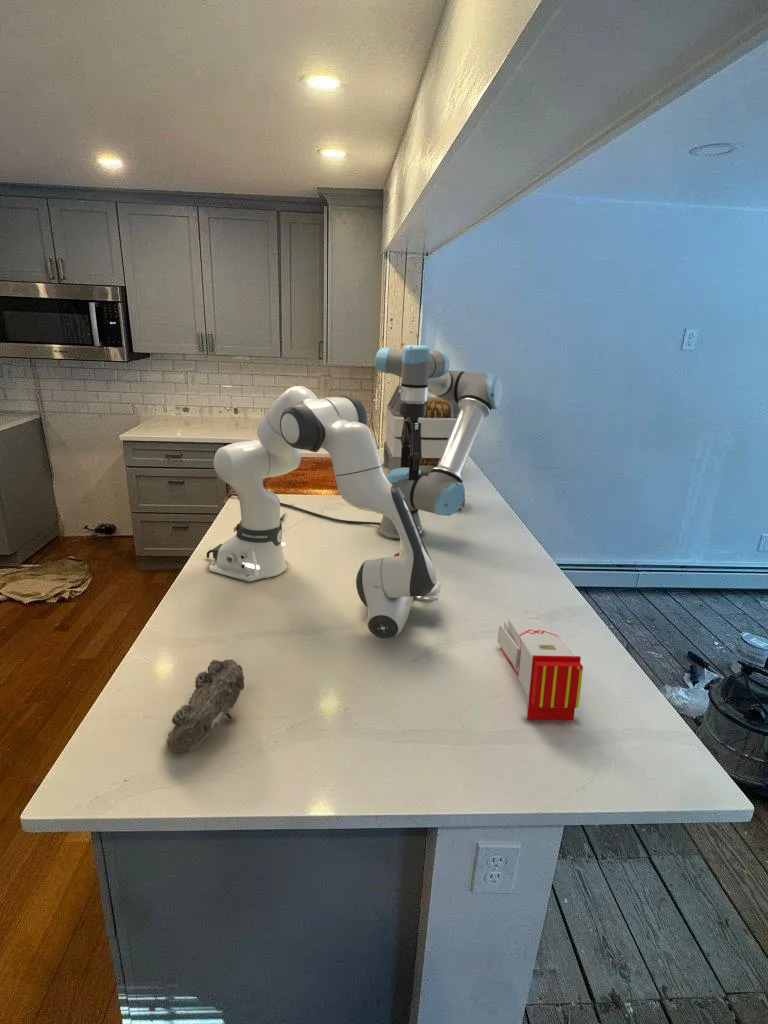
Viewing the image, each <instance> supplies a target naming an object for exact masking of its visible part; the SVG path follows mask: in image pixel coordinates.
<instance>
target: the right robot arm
mask: <svg viewBox="0 0 768 1024" xmlns="http://www.w3.org/2000/svg"><path fill="white" fill-rule="evenodd" d="M374 364H375V368H376V369H377V371H379V372H380V373H382V374H391V375H394V376H396V377H399V378H400V379H401V385H400V386H401V388H402V389H401V390H399V393H401V400H402V402H401V403H400V415H402V416H404V422H403V428H402V435H401V440H400V441H401V442H402V443H401V445H402V450H401V468H398V469H393V470H391V471H390V470H389V471H388V472H387V475H386V478H387V479H388V481H389V482H390V483H391V484H392V485H393V486H395V487H398V488H399V489H400V490H401V491H402V493H403V495H404V496H405V498H406V501H407V503H408V505H409V508H410V510H411V513H412V515H413V518H414V520H415V523H416V525H417V528H418V530H419V533H420V536H421V537H422V535H423V525H422V524H421V518H420V515H419V510H420V511H423V512H426V513H431V514H435V515H437V516H445V517H450V516H452V515H454V514H455V513H456V512H457V511H459V507H460V508H461V504H462V501H463V498H465V497H464V494H465V492H466V491H465V489H466V488H465V486H464V484H463V483H464V480H463V479H462V477H461V475H462V472H463V470H464V467H465V466H466V463H467V460H468V458H469V455H470V453H471V450H472V447H473V445H474V442H475V440H476V437H477V435H478V432H479V430H480V427H481V425H482V422H483V420H484V419H485V418H487V417H488V416H490V413H491V411H492V410H498V409H499V407H500V405H501V402H502V398H503V385H502V381H501V378H500V376H498V375H496V374H491V373H489V372H487V373H482V372H472V371H465V370H452V369H451V370H450V367H451V361H450V358H449V356H448V354H446V353H445V352H444V351H440V350H431V348H430V347H429V346H428V345H420V344H419V345H418V344H408V345H405V346H404V347H403V348H395V347H381V348H379V350H377V352H376V354H375V360H374ZM428 392H429V394H431V395H433V396H434V397H439V398H442V399H444V400H446V401H449V402H452V403H455V404H458V406H459V408H460V411H459V413H458V416H457V418H456V421H455V423H454V426H453V428H452V430H451V433H450V435H449V438H448V440H447V443H446V445H445V448H444V450H443V453H442V455H441V457H440V460H439V462H438V465H437V466H434V467H433V468H430V470H429V472H428V475H423V474H422V470H421V468H420V466H419V460H420V458H421V457H422V454H421V423H418V418H419V417H424V416H425V415H426V403H425V402H426V401H427V397H428ZM410 453H411V456H410ZM415 453H417V454H415ZM465 495H466V494H465ZM231 497H237V498H238V496H237V493H229V495H227V498H231ZM280 506H283V507H285V508H286V507H287V508H290V509H293V510H297V511H299V512H303V513H306V514H308V515H309V514H310V515H313V516H314V517H318V518H323V519H326V520H329V521H333V522H338V523H345V524H354V525H355V524H357V525H372V526H378V533H379V534H380V535H381V536H382V537H385V538H387V539H389V540H395V541H400V536H399V533H398V531H397V528H396V526H395V524H394V522H393V521H392V520H391V519H389V518H388V517H386V516H384V515H382V519H381V522H376V521H358V520H346V519H340V518H335V517H331V516H327V515H323V514H320V513H316V512H313V511H310V510H306V509H304V508H301V507H297V506H294V505H292V504H287V503H283V502H280Z"/></svg>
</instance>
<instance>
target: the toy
mask: <svg viewBox="0 0 768 1024" xmlns="http://www.w3.org/2000/svg"><path fill="white" fill-rule="evenodd" d="M498 626H499V627H498V634H497V644H498V646H500V650H501V652H502V653H503V655H504V657H505V658H506V661H508V663H509V665H510V667H511V668H512V670H513V671H514V673H515V675H516V677H518V680H519V682H520V684H521V686H522V687H523V690H524V692H525V693H526V695H527V697H528V702H527V703H528V704H527V712H526V720H527V721H562V722H563V721H567V722H568V721H570V722H572V721H574V719H575V714H576V713H575V712H576V709H578V708H579V705H580V697H581V687H582V680H583V672H584V671H583V670H584V666H583V664H582V663H581V656H580V655H575V654H574V653H573V651H572V650H571V649H570V648H569V647H568V646H567V644H566V643H565V642H564V640H563V639H562V638H561V636H560V635H559V634H558V633H557V631H556V630H555V629H554V627H553V626H552V625H551V624H550V623H549V621H548V620H547V619H539V618H538V619H534V618H533V619H532V618H508V621H504V623H503V624H499V625H498Z"/></svg>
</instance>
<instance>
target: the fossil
mask: <svg viewBox="0 0 768 1024" xmlns="http://www.w3.org/2000/svg"><path fill="white" fill-rule="evenodd" d="M243 670H244V669H243V667H242V665H240V664H237V662H236V661H235V660H234V659H232V658H231V659H227V658H226V659H224V660H223V661H222V660H217V659H212V660H211V661H210V663H209V665H208V666H207V671H201V672H199V673H198V674H197V675H196V676H195V680H194V684H195V685H194V687H195V689H194V690H193V693H192V694H191V697H190V698H189V700H188V704H184V705H182V706H181V707H180V709H177V710H176V711H175V713H174V715H173V716H172V718H171V723H172V724H173V727H172V730H171V731H170V732H168V734H167V738H166V741H167V742H166V745H167V749H168V750H169V751H173V752H174V753H176V754H178V753H182V752H188V751H189V752H192V751H193V750H195V748H196V747H197V746H199V744H200V743H201V742H203V741H204V740H205V739H206V738H207V737H208V736H209V735H210V734H211V733H212V732H214V730H215V729H217V727H218V726H219V724H220V722H221V721H222V720H223V719H224V718H225V716H226V717H227V719H229V720H233V717H232V715H230V714H229V710H230V709H231V708H234V706H235V704H236V703H237V702H238V699H239V697H240V695H241V693H242V691H243V690H245V689H244V688H245V675H244V671H243Z"/></svg>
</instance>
